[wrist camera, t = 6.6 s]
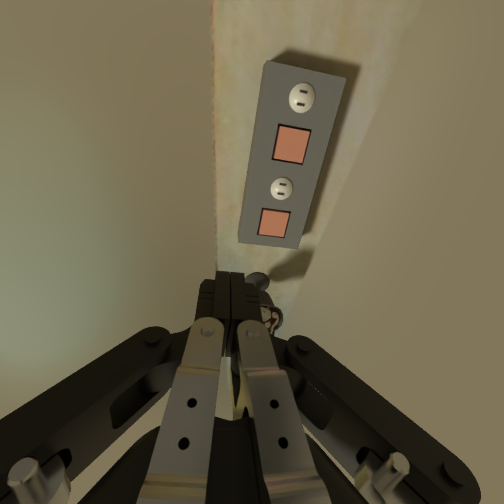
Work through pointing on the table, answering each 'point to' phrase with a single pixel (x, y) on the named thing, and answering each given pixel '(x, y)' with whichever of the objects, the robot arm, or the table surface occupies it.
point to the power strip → (282, 171)
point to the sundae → (266, 302)
